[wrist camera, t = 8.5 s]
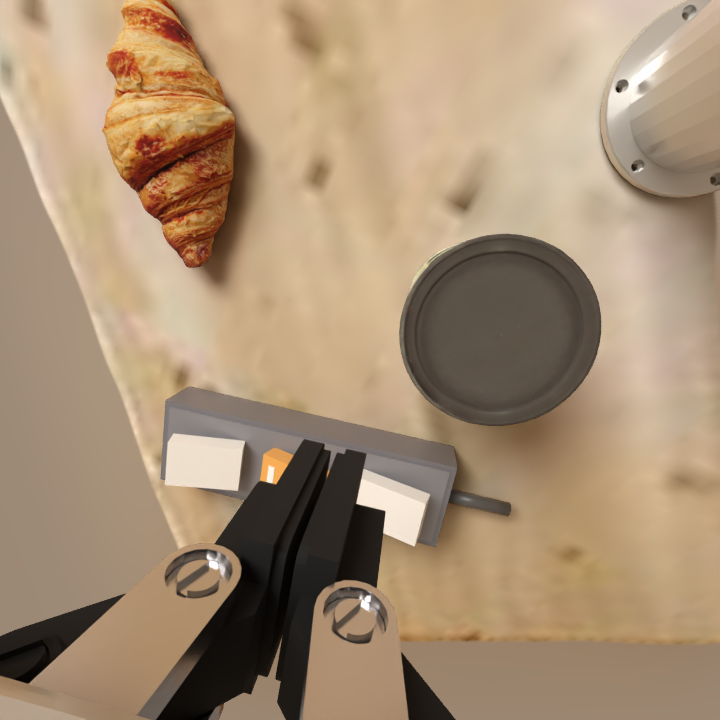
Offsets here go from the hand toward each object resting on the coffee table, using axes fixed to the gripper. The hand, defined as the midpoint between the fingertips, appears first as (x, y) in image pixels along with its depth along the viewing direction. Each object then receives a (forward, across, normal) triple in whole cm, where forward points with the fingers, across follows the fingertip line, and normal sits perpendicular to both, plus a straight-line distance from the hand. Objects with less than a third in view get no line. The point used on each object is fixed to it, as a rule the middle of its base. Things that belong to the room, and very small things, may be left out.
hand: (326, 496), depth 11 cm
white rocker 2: (+21, -3, +14) cm, 26 cm away
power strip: (+27, +2, +14) cm, 31 cm away
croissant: (+28, +20, -12) cm, 36 cm away
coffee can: (+27, -6, -3) cm, 28 cm away
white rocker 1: (+21, +13, +14) cm, 29 cm away
